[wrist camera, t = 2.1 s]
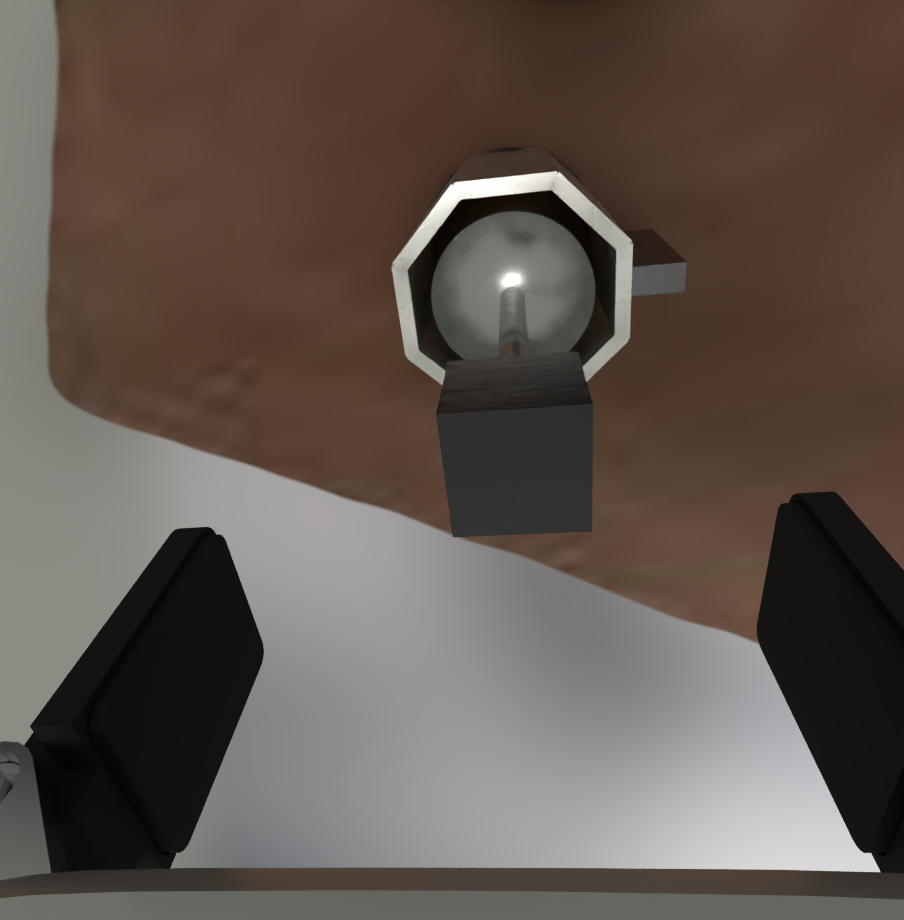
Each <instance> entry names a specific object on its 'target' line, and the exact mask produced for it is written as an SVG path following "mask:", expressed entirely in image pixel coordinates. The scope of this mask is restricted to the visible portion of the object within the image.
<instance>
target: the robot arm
mask: <svg viewBox="0 0 904 920" xmlns="http://www.w3.org/2000/svg"><path fill="white" fill-rule="evenodd" d="M757 636H758V641H759V645H760V647H761V649H762V652H763V654H764V656H765V658H766V660H767V662H768V664H769V666H770V668H771V670H772V672H773V675H774V677H775V679H776V681H777V683H778V685H779V687H780V689H781V691H782V693H783V695H784V697H785V699H786V702H787V704H788V706H789V708H790V710H791V712H792V714H793V716H794V718H795V720H796V722H797V724H798V726H799V729H800V731H801V733H802V735H803V737H804V739H805V741H806V743H807V745H808V747H809V749H810V751H811V754H812V756H813V757H814V760H815V762H816V764H817V766H818V768H819V770H820V772H821V774H822V776H823V779H824V780H825V783H826V785H827V787H828V789H829V791H830V793H831V795H832V797H833V799H834V801H835V803H836V805H837V808H838V810H839V812H840V814H841V816H842V818H843V820H844V822H845V824H846V826H847V828H848V830H849V833H850V835H851V837H852V839H853V840H854V842H855V844H856V846H857V847H858V848H859V849H860V850H861V851H862V852H864V853H872V855H873V857H874V859H875V861H876V863H877V865H878V867H879V869H880V871H881V873H879V872H877V873H876V872H840V871H839V872H838V871H800V870H730V869H721V870H720V869H607V868H605V869H604V868H176V869H170V867H171V865H172V862H173V860H174V857H175V855H176V853H180V852H182V851H183V850H184V849H185V848H186V847H187V845H188V843H189V841H190V839H191V837H192V834H193V832H194V829H195V827H196V824H197V822H198V820H199V817H200V815H201V812H202V810H203V807H204V805H205V802H206V800H207V797H208V795H209V793H210V790H211V788H212V785H213V783H214V780H215V777H216V775H217V773H218V770H219V768H220V765H221V763H222V761H223V758H224V756H225V753H226V750H227V748H228V746H229V743H230V741H231V738H232V736H233V733H234V731H235V729H236V726H237V723H238V721H239V719H240V716H241V714H242V711H243V709H244V706H245V704H246V701H247V699H248V696H249V694H250V692H251V689H252V687H253V684H254V681H255V679H256V677H257V674H258V672H259V669H260V667H261V664H262V661H263V654H264V649H263V643H262V640H261V637H260V634H259V631H258V629H257V626H256V623H255V620H254V618H253V615H252V612H251V609H250V606H249V604H248V601H247V598H246V595H245V593H244V590H243V587H242V585H241V582H240V579H239V576H238V573H237V571H236V568H235V565H234V562H233V560H232V557H231V554H230V551H229V549H228V546H227V543H226V541H225V539H224V537H223V536H222V535H216V533H215V532H214V530H213V529H212V528H209V527H199V528H182V529H176V530H174V531H173V532H172V533H171V534H170V536H169V537H168V539H167V540H166V541H165V543H164V544H163V546H162V547H161V548H160V550H159V551H158V552H157V554H156V555H155V557H154V558H153V559H152V560H151V562H150V563H149V564H148V566H147V567H146V569H145V570H144V571H143V573H142V574H141V575H140V577H139V578H138V580H137V581H136V582H135V584H134V585H133V587H132V588H131V589H130V590H129V592H128V593H127V595H126V596H125V597H124V599H123V600H122V602H121V603H120V604H119V606H118V607H117V608H116V610H115V611H114V612H113V614H112V615H111V617H110V618H109V619H108V621H107V622H106V623H105V625H104V626H103V627H102V629H101V630H100V631H99V633H98V634H97V636H96V637H95V638H94V640H93V641H92V642H91V644H90V645H89V647H88V648H87V649H86V651H85V652H84V653H83V655H82V656H81V657H80V659H79V660H78V661H77V663H76V664H75V666H74V667H73V668H72V670H71V671H70V672H69V674H68V675H67V677H66V678H65V679H64V681H63V682H62V683H61V685H60V686H59V688H58V689H57V690H56V692H55V693H54V694H53V696H52V697H51V698H50V700H49V701H48V702H47V704H46V705H45V707H44V708H43V709H42V711H41V712H40V713H39V715H38V716H37V718H36V719H35V720H34V722H33V723H32V724H31V726H30V727H31V728H32V730H33V731H34V732H33V734H32V735H31V737H30V738H29V740H28V741H27V742H26V743H25V745H22V744H20V743H19V742H8V741H3V742H0V920H904V570H903V569H902V568H901V567H900V566H899V565H898V563H897V562H896V561H895V560H894V559H893V558H892V556H891V555H890V554H889V553H888V552H887V551H886V549H885V548H884V547H883V546H882V545H881V544H880V542H879V541H878V540H877V539H876V538H875V537H874V535H873V534H872V533H871V532H870V531H869V530H868V528H867V527H866V526H865V525H864V524H863V523H862V521H861V520H860V519H859V518H858V517H857V516H856V514H855V513H854V512H853V511H852V510H851V509H850V507H849V506H848V505H847V504H846V503H845V502H844V500H843V499H842V498H841V497H840V496H839V495H838V494H837V493H835V492H815V493H798V494H794V495H793V496H792V497H791V499H790V501H789V503H783V504H781V505H780V507H779V509H778V513H777V518H776V524H775V529H774V534H773V540H772V545H771V551H770V556H769V562H768V567H767V573H766V578H765V584H764V589H763V595H762V600H761V605H760V611H759V616H758V622H757Z"/></svg>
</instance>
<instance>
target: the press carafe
mask: <svg viewBox="0 0 904 920" xmlns="http://www.w3.org/2000/svg"><path fill="white" fill-rule="evenodd" d="M504 209H526V210H532V211H536V212H540V213H542V214H545V215H547V216H550V217H552V218H553V219H555V220H557V221H558V222H560V223H561V224H562V225H564V226H565V227H566V228H568V229H569V230H570V231H571V233H572V234H573V235H574V236H575V237H576V238H577V240H578V241H579V242H580V244H581V245H582V247H583V249H584V251H585V253H586V255H587V257H588V259H589V261H590V264H591V267H592V270H593V275H594V280H595V302H594V307H593V312H592V315H591V318H590V321H589V324H588V326H587V328H586V330H585V332H584V333H583V335H582V336H581V338H580V339H579V341H578V342H577V343H576V344H575V345H574V347H573V348H572V349H571V350H570V351H569V352H575V351H578V353H579V357H580V361H581V364H582V368H583V371H584V375H585V379H586V382H587V381H588V380H589V379H590V378H591V377H592V376H593V375H594V374H595V373H596V372H597V371H598V370H599V369H600V368H601V367H602V366H603V365H604V364H605V363H606V362H607V361H609V360H610V359H611V358H612V357H613V356H614V355H615V354H616V353H617V352H618V351H619V350H620V349H621V348H622V347H623V346H624V345H625V344H626V343H627V342H628V341H629V340H628V338H630V318H631V297H632V296H643V295H655V294H667V293H678V292H685V282H686V269H687V262H686V261H685V260H684V259H683V258H682V257H681V256H680V255H679V254H678V253H677V252H676V251H675V250H674V249H673V248H672V247H670V246H669V245H668V244H667V243H666V242H665V241H664V240H663V239H662V238H661V237H660V236H659V235H658V234H657V233H656V232H654V231H653V230H652V229H648V230H638V231H627V232H624V231H623V230H622V228H621V227H620V226H619V225H618V224H617V223H616V221H615V220H614V219H613V218H612V217H611V215H610V214H609V213H608V212H607V211H606V210H605V208H604V207H603V206H602V205H601V204H600V202H599V201H598V200H597V199H596V198H595V197H594V195H593V194H592V193H590V192H589V191H588V190H587V189H586V188H585V187H584V186H583V185H582V184H581V183H580V181H579V180H578V178H577V177H576V176H575V175H574V174H573V173H572V172H571V171H570V170H569V169H568V168H567V167H566V166H564V165H563V164H562V163H561V162H559V161H557V160H556V159H555V158H554V157H553V156H552V155H550V154H549V153H548V152H547V151H546V150H545V149H544V148H543V147H542V148H541V146H539V147H530V148H504V149H499V150H493V151H490V152H487V153H478V154H470V155H469V156H468V157H467V158H466V159H465V161H464V162H463V163H462V165H461V166H460V167H459V169H458V170H457V171H456V172H455V173H454V174H453V175H452V176H451V177H450V179H449V180H448V181H447V182H446V183H445V185H444V186H443V188H442V189H441V191H440V192H439V194H438V196H437V198H436V200H435V201H434V203H433V204H432V205H431V207H430V208H429V209H428V211H427V212H426V214H425V215H424V217H423V218H422V220H421V221H420V223H419V224H418V226H417V227H416V229H415V230H414V232H413V233H412V235H411V236H410V238H409V239H408V241H407V242H406V244H405V245H404V247H403V248H402V250H401V251H400V253H399V254H398V256H397V257H396V259H395V260H394V262H393V263H392V264H393V265H392V273H393V279H394V286H395V292H396V299H397V305H398V312H399V318H400V325H401V331H402V338H403V344H404V351H405V356H407V359H409V360H410V361H411V362H413V363H414V364H415V365H416V366H418V367H419V368H420V369H422V370H423V371H424V372H426V373H427V374H428V375H430V376H431V377H432V378H433V379H435V380H436V381H437V382H439V383H440V384H441V385H443V381H444V376H445V372H446V367H447V363H448V361H457V360H464V359H463V358H461V357H460V356H459V355H458V354H457V353H456V352H454V351H453V349H452V348H451V347H450V346H449V345H448V344H447V342H446V341H445V339H444V338H443V336H442V335H441V333H440V331H439V329H438V326H437V324H436V321H435V318H434V314H433V309H432V300H431V291H432V282H433V277H434V273H435V270H436V267H437V264H438V262H439V259H440V257H441V255H442V253H443V251H444V249H445V248H446V246H447V245H448V243H449V242H450V240H451V239H452V238H453V237H454V236H455V235H456V234H457V233H458V232H459V231H460V230H461V229H462V228H463V227H465V226H466V225H467V224H469V223H470V222H472V221H473V220H475V219H477V218H479V217H481V216H483V215H485V214H488V213H491V212H494V211H499V210H504Z"/></svg>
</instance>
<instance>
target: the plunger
mask: <svg viewBox="0 0 904 920" xmlns="http://www.w3.org/2000/svg"><path fill="white" fill-rule="evenodd" d="M431 300H432V309H433V314H434V318H435V321H436V324H437V326H438V329H439V331H440V333H441V335H442V336H443V338H444V339H445V341H446V342H447V344H448V345H449V346H450V347H451V348H452V349H453V351H454V352H456V353H457V354H458V355H459V356H460V357H461V358H463V359H464V360H457V361H448V363H447V367H446V372H445V376H444V381H443V386H442V390H441V395H440V399H439V404H438V409H437V413H436V416H437V423H438V431H439V438H440V446H441V453H442V460H443V468H444V475H445V483H446V490H447V497H448V505H449V512H450V520H451V527H452V534H453V537H469V536H492V535H516V534H540V533H563V532H587V531H592V428H593V404H592V400H591V397H590V393H589V389H588V386H587V382H586V379H585V375H584V371H583V368H582V364H581V361H580V357H579V353H578V351H575V352H569V351H570V350H571V349H572V348H573V347H574V345H575V344H576V343H577V342H578V341H579V339H580V338H581V336H582V335H583V333H584V332H585V330H586V328H587V326H588V324H589V321H590V318H591V315H592V312H593V307H594V302H595V280H594V275H593V270H592V267H591V264H590V261H589V259H588V257H587V255H586V253H585V251H584V249H583V247H582V245H581V244H580V242H579V241H578V240H577V238H576V237H575V236H574V235H573V234H572V233H571V231H570V230H569V229H568V228H566V227H565V226H564V225H562V224H561V223H560V222H558V221H557V220H555V219H553V218H552V217H550V216H547V215H545V214H542V213H540V212H536V211H532V210H526V209H504V210H499V211H494V212H491V213H488V214H485V215H483V216H481V217H479V218H477V219H475V220H473V221H472V222H470V223H469V224H467V225H466V226H465V227H463V228H462V229H461V230H460V231H459V232H458V233H457V234H456V235H455V236H454V237H453V238H452V239H451V240H450V242H449V243H448V245H447V246H446V248H445V249H444V251H443V253H442V255H441V257H440V259H439V262H438V264H437V267H436V270H435V273H434V277H433V282H432V291H431Z"/></svg>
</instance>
